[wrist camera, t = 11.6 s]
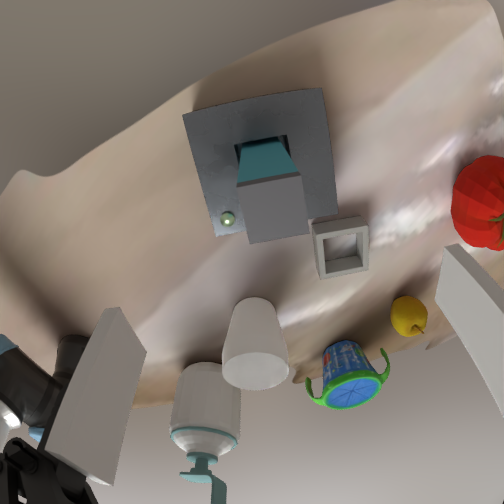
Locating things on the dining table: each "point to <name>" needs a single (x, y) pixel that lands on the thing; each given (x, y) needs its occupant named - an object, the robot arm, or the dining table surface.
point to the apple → (408, 316)
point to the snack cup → (348, 377)
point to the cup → (254, 347)
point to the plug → (270, 192)
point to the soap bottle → (205, 421)
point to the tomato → (480, 203)
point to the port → (254, 128)
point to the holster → (348, 263)
